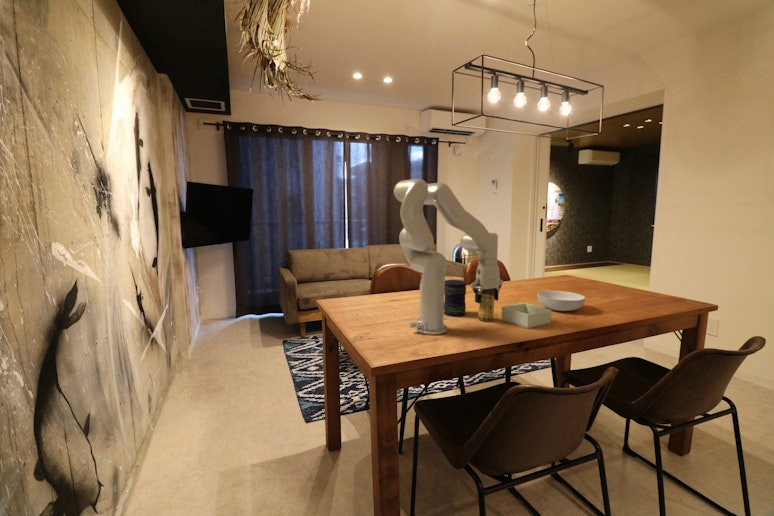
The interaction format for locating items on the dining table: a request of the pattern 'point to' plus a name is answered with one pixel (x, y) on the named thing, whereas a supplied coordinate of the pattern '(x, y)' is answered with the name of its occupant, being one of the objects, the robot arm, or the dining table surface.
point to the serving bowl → (560, 300)
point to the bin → (526, 315)
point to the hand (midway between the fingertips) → (486, 301)
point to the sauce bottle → (486, 305)
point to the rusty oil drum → (454, 298)
